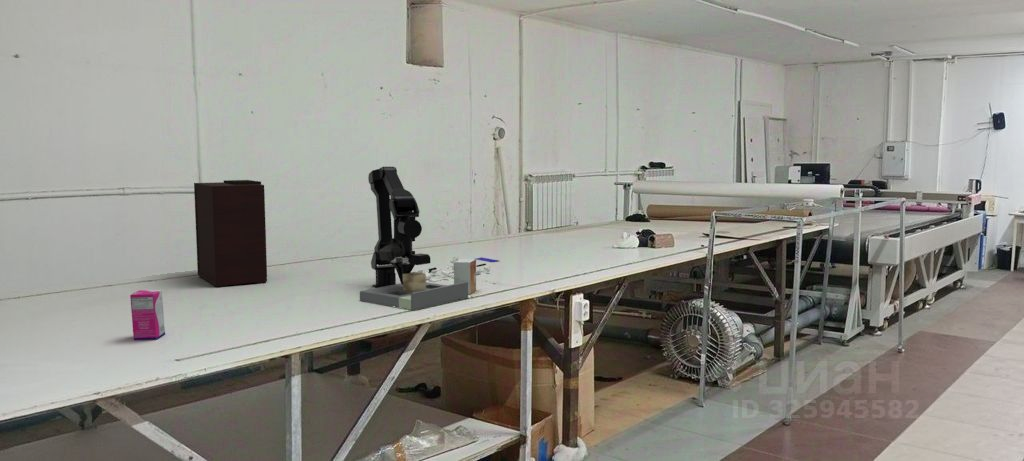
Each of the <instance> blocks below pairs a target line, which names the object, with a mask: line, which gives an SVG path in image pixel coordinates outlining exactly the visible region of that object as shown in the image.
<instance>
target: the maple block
mask: <svg viewBox="0 0 1024 461" xmlns="http://www.w3.org/2000/svg"><path fill="white" fill-rule="evenodd" d="M424 273H425V272H423V273H417V272H415V271H413V272H412V271H411V273H406V274H403V290H406V291H412V292H416V291H421V290H426V282H427V280H426V274H424Z"/></svg>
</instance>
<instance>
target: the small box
mask: <svg viewBox="0 0 1024 461" xmlns="http://www.w3.org/2000/svg"><path fill="white" fill-rule="evenodd" d="M476 261H477V260H476V258H459V259H458V261H456V262H454V273H453V275H454V277H453V284H457V283H462V282H468V295H471V294H472V293H474V292H476V291H477V275H476V270H477V267H476V264H477V262H476Z"/></svg>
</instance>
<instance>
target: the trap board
mask: <svg viewBox="0 0 1024 461" xmlns="http://www.w3.org/2000/svg"><path fill="white" fill-rule="evenodd" d="M464 298H466V299H469V294H468V282H462V283H457V284H454V283H453V284H449V285H446V284H441V283H440V284H439V283H435V282H427V281H426V290H421V291H416V292H412V291H406V290H403V284H401V282H400V283H396V284H395V285H389V286H384V287H374V288H369V289H365V290H364V289H363V290H359V301H360V302H365V303H369V304H370V303H371V304H376V305H381V306H386V305H388V306H387V307H392V306H395V307H394V308H397V307H401V308H400V309H403V308H406V309H405V310H408V309H410V311H417V310H422V309H426V308H427V309H428V308H431V307H435V306H439V305H440V306H441V305H443V304H448V303H447V302H449V303H452V302H451V301H453V302H455V301H454V300H457V301H459V300H458V299H462V300H465V299H464Z"/></svg>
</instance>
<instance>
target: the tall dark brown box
mask: <svg viewBox="0 0 1024 461" xmlns="http://www.w3.org/2000/svg"><path fill="white" fill-rule="evenodd" d="M193 189H194V190H193V192H194V212H195V213H194V214H195V216H194V217H195V237H196V238H195V239H196V240H195V241H196V242H195V243H196V262H197V263H196V264H197V265H196V266H197V267H196V268H197V276H198V277H200V278H201V279H203V280H205V281H206V282H208V283H209V284H211V285H213V286H214V287H217V288H225V287H226V286H234V285H235V286H236V285H244V284H245V285H246V284H254V283H255V284H259V285H260V284H266V283H267V282H268V268H267V266H268V265H267V262H268V261H267V260H268V259H267V231H266V230H267V229H266V226H267V225H266V204H265V203H266V202H265V198H266V196H265V184H262V181H261V180H260V181H258V180H250V179H232V180H231V179H228V180H226V179H225V180H223V182H218V181H217V182H194V183H193Z"/></svg>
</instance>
